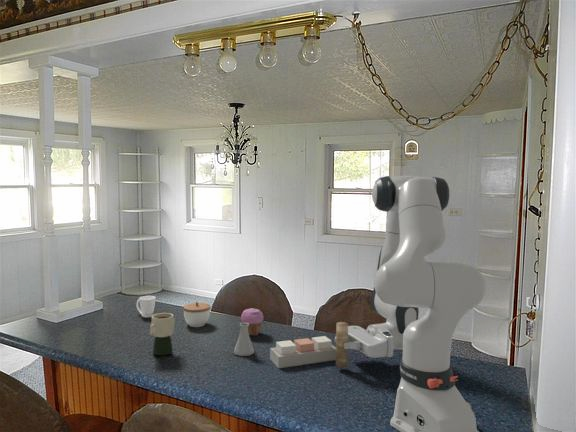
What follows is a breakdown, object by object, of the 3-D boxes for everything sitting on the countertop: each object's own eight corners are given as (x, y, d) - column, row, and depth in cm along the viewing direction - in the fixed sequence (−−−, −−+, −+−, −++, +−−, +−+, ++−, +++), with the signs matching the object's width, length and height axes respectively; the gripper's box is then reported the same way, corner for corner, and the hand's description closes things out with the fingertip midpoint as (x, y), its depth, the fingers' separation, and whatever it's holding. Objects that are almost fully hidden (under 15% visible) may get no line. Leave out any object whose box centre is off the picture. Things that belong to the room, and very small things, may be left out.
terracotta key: (314, 351, 141) (314, 343, 141) (299, 353, 139) (300, 344, 139) (307, 346, 146) (307, 338, 145) (294, 348, 144) (294, 339, 144)
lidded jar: (177, 325, 175) (177, 302, 174) (197, 319, 184) (197, 297, 183) (196, 330, 169) (196, 307, 168) (215, 324, 178) (215, 301, 177)
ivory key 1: (295, 354, 139) (296, 345, 138) (281, 355, 137) (281, 347, 137) (290, 348, 143) (290, 340, 143) (275, 350, 141) (276, 342, 141)
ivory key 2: (331, 349, 143) (331, 340, 143) (317, 351, 141) (318, 342, 141) (324, 344, 148) (325, 335, 148) (311, 345, 146) (311, 337, 146)
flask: (251, 357, 143) (251, 328, 143) (230, 355, 145) (230, 326, 144) (257, 349, 150) (257, 321, 150) (237, 348, 152) (237, 320, 151)
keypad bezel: (337, 359, 143) (337, 349, 142) (278, 368, 135) (278, 357, 135) (326, 351, 150) (326, 340, 150) (269, 358, 142) (270, 348, 142)
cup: (146, 319, 182) (146, 300, 182) (130, 315, 187) (130, 297, 187) (159, 315, 188) (159, 297, 188) (143, 311, 193) (143, 293, 193)
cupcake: (262, 338, 162) (262, 312, 161) (239, 337, 162) (239, 311, 161) (264, 330, 171) (264, 305, 170) (242, 330, 171) (242, 305, 170)
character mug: (166, 346, 152) (166, 310, 151) (182, 350, 148) (182, 313, 148) (142, 357, 142) (142, 318, 141) (158, 361, 139) (158, 321, 138)
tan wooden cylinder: (349, 366, 134) (350, 324, 133) (339, 367, 132) (339, 326, 132) (343, 361, 137) (344, 321, 136) (333, 363, 136) (334, 322, 135)
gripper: (360, 319, 149) (324, 323, 144) (396, 338, 130) (356, 343, 125) (360, 337, 149) (324, 342, 144) (395, 359, 130) (355, 365, 125)
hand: (339, 343), depth 134 cm, fingers closed on tan wooden cylinder, 4 cm apart
